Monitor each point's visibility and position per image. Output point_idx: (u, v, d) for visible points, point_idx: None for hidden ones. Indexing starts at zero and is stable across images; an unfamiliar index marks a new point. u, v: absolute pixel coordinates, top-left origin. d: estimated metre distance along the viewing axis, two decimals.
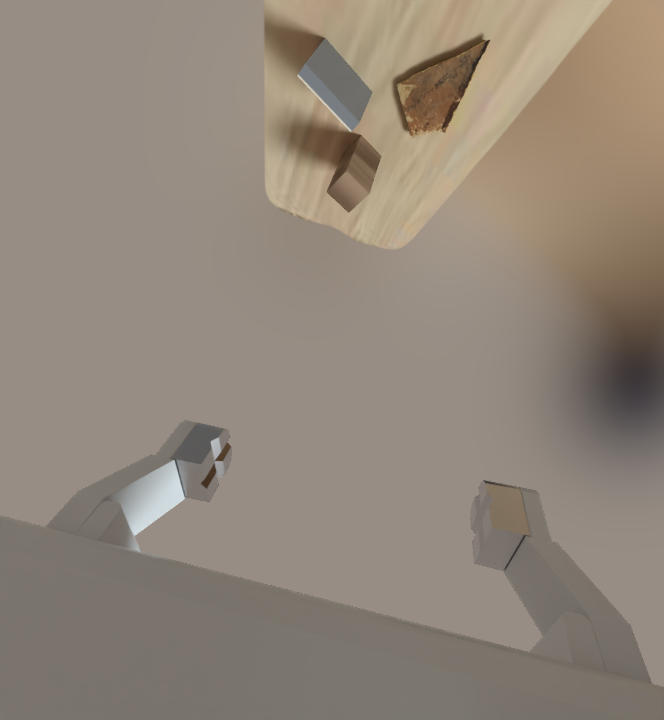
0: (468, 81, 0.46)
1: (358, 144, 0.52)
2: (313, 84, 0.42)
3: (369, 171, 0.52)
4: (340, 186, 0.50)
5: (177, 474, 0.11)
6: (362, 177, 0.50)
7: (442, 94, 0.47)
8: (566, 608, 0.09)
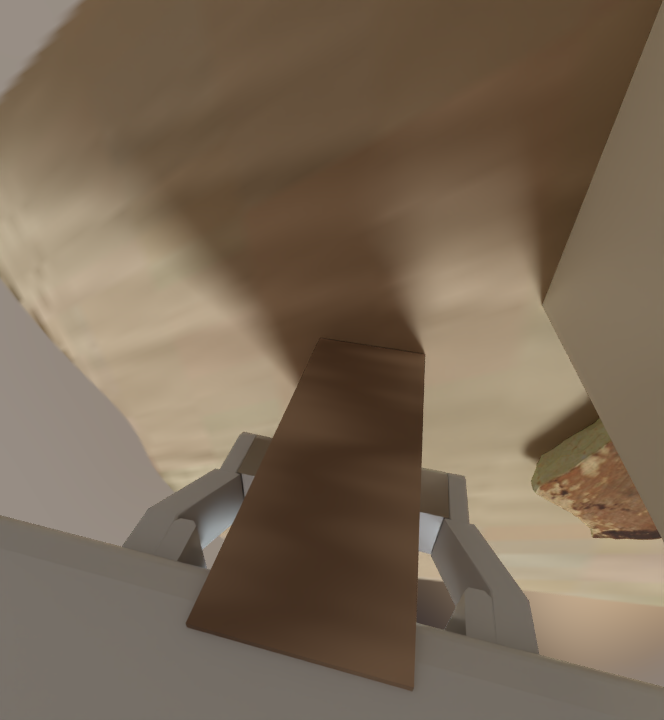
0: None
1: None
2: None
3: None
4: None
5: (241, 488, 0.11)
6: None
7: None
8: (475, 587, 0.09)
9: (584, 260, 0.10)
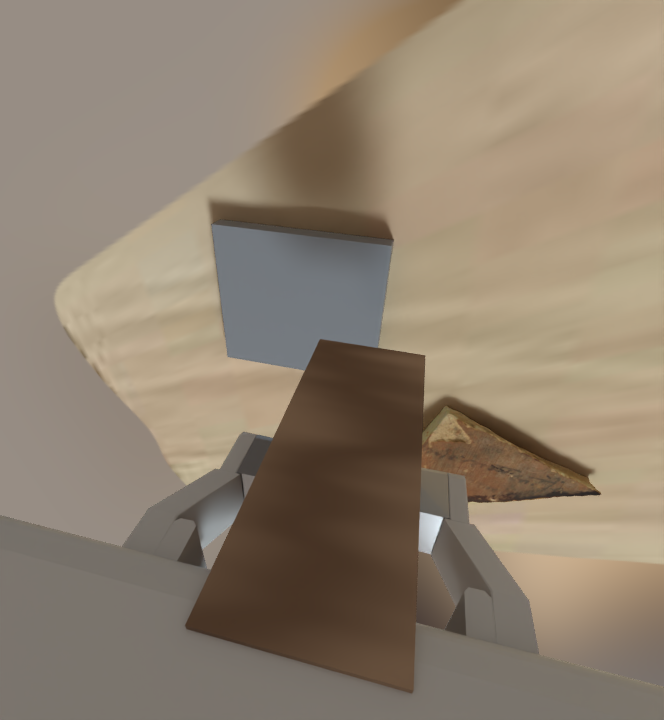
0: (527, 498, 0.25)
1: None
2: None
3: None
4: None
5: (241, 488, 0.11)
6: None
7: (487, 480, 0.25)
8: (475, 586, 0.09)
9: None
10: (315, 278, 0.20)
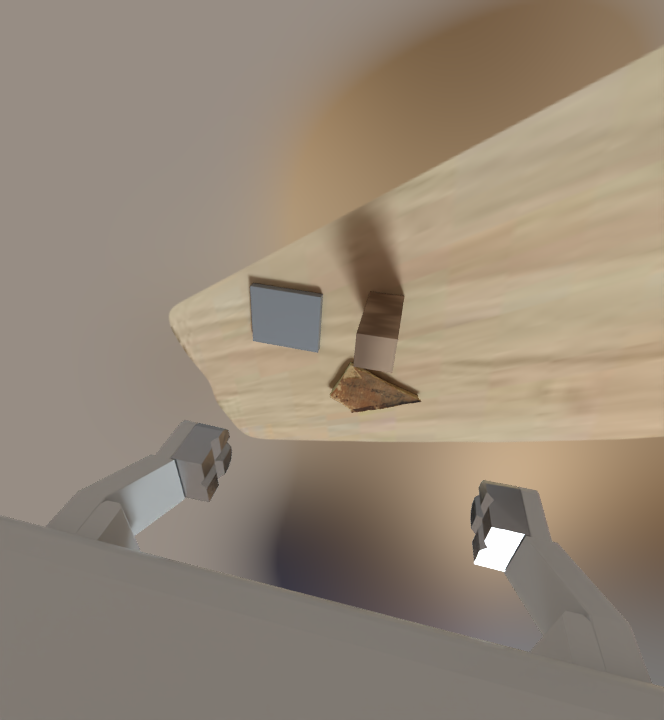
0: (391, 405, 0.53)
1: (402, 306, 0.43)
2: None
3: None
4: (376, 343, 0.38)
5: (177, 474, 0.11)
6: None
7: (371, 397, 0.53)
8: (566, 608, 0.09)
9: None
10: (292, 308, 0.48)
